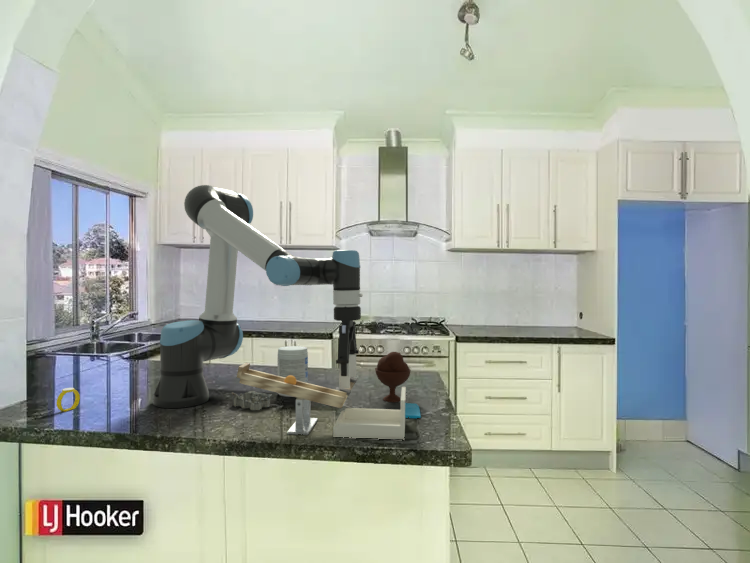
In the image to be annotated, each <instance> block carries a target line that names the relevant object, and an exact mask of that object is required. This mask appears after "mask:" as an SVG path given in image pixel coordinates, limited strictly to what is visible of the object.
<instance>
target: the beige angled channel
mask: <svg viewBox="0 0 750 563" xmlns="http://www.w3.org/2000/svg"><path fill="white" fill-rule="evenodd" d="M250 366H251V363H249V362H245V363H242V364H241V365H239V366H238V369H237V373H236V378H237V379H239V384H242V385H245V386H249V387H253V388H258V389H262V390H265V391H269V392H275V393H277V394H278V393H281V394H285V395H289V396H293V397H292V398H296V399H297V398H304V399H305V400H309V401H311V402H314V403H318V404H322V405H326V406H329V407H330V406H331V407H335V408H338V409H342V408H343V406H344V404H345V402H346V400H348V397H349V396H350V394H351V393H352V391H353V388H354V386H355V385H356V383H357V381H358V378H357V377H350V388H339V386H336V387H335V388H330V387H327V386H326V387H325V386H322V385H316V384H314V383H309V382H308V383H306V382H302V381H297V380H296V384H295V385H293V384H289V383H285V382H284V380H285V377H281V376H278V374H277V375H276V374H273V373H268V372H264V371H259V370H256V369H251V368H250Z"/></svg>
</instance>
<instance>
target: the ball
mask: <svg viewBox="0 0 750 563" xmlns="http://www.w3.org/2000/svg"><path fill="white" fill-rule="evenodd" d="M284 382H285V383H289V384H293V385H295V384H296V378H295V377H294V376H292V375H289V376H287V377H286V378H285V380H284Z"/></svg>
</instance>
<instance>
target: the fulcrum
mask: <svg viewBox="0 0 750 563" xmlns="http://www.w3.org/2000/svg"><path fill="white" fill-rule="evenodd" d="M311 402H312V401H309V400H305V399H304V398H297V397H296V399H295V420H294V421H295V422H294V423H293V424H291V426H290V427H289V428H288V430H287V432H286V433H287V435H298V434H301V435H302V434H303V435H304V436H309V434H310V433H311V431H312V430H313V428H314V427H315V426H316V424H317V422H318V421H319V419H318V417H311V416H312V415H311V414H312V413H311V408H312V406H311ZM309 432H310V433H309ZM301 435H300V436H301Z"/></svg>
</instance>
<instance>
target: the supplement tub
mask: <svg viewBox="0 0 750 563" xmlns="http://www.w3.org/2000/svg"><path fill="white" fill-rule="evenodd" d="M308 357H309V352H308V347H307V346H303V345H301V346H300V345H290V346H289V345H288V346H287V345H286V346H282V347H278V348H277V376H281V377H285V378H286V377H287V376H289V375H292V376H294V377H295V378H296V380H297V381H302V382H306V383H309V368H308V367H309V365H308V364H309V358H308ZM277 394H278V395H279V396H281V397H285V398H294V397H293V396H289V395H285V394H281V393H277Z"/></svg>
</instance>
